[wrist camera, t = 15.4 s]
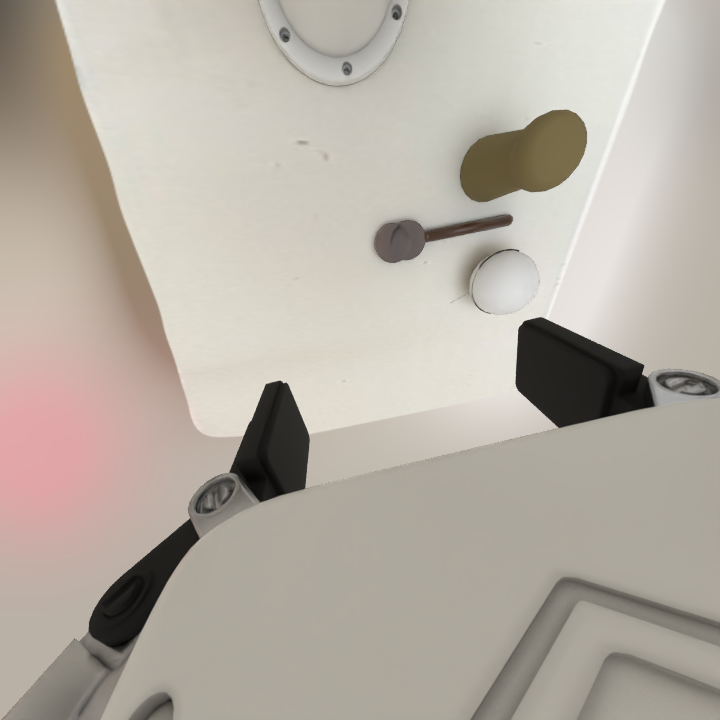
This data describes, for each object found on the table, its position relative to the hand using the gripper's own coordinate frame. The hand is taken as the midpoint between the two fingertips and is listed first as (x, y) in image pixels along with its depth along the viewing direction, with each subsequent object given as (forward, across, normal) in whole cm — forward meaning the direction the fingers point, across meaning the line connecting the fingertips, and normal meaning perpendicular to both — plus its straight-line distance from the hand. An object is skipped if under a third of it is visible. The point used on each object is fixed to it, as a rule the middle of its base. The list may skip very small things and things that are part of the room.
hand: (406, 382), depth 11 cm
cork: (+26, -16, -7) cm, 31 cm away
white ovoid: (+26, -15, +4) cm, 30 cm away
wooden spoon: (+26, -11, -2) cm, 28 cm away
